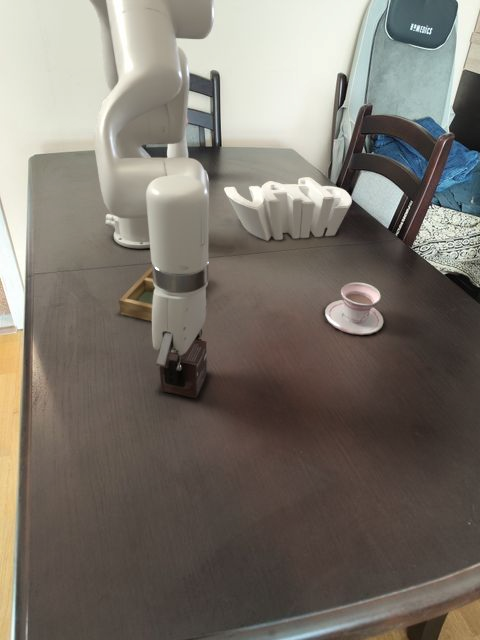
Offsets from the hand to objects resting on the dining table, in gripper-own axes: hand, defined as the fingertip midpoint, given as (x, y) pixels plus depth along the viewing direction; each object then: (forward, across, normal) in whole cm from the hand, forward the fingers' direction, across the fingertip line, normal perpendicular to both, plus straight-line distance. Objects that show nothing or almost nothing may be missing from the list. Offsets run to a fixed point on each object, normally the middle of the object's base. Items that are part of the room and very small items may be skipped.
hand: (183, 369), depth 74 cm
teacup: (+3, -30, +25) cm, 39 cm away
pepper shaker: (+3, -90, -39) cm, 98 cm away
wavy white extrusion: (+3, -68, +3) cm, 68 cm away
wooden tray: (+3, -22, -14) cm, 27 cm away
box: (+3, 0, 0) cm, 3 cm away
